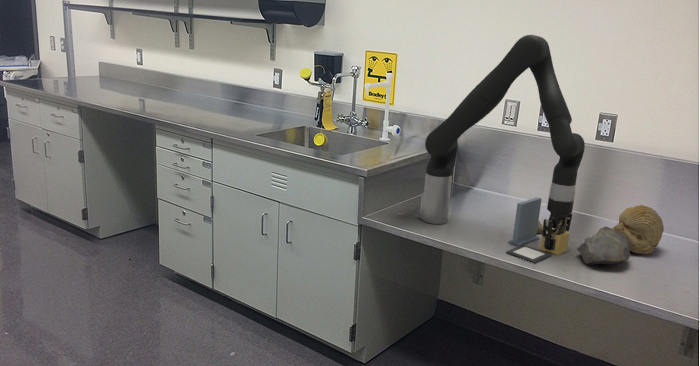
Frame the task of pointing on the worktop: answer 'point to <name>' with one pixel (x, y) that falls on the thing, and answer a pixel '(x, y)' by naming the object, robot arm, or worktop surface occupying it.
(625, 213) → the fossil
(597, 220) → the worktop surface
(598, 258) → the stone
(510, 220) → the worktop surface
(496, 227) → the worktop surface
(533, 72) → the robot arm
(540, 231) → the rock
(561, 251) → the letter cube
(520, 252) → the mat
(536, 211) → the screen
